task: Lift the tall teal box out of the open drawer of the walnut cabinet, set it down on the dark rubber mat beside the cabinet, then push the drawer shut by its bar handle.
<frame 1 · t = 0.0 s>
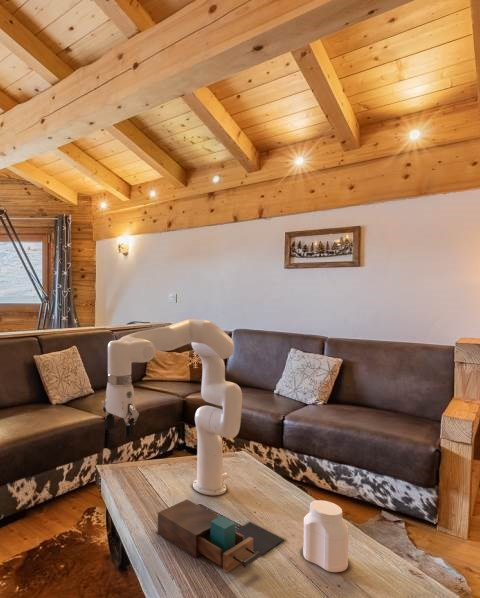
hand: (119, 432, 135), 31 cm above the table, tool pointing down, fingers open, 9 cm apart
jar: (325, 559, 121), on the table
drawer: (225, 546, 122), point 3 cm above the table, slide at 9.0 cm, touching box
mat: (255, 538, 131), on the table
cabinet: (190, 536, 132), on the table
box: (222, 549, 122), point 2 cm above the table, touching drawer
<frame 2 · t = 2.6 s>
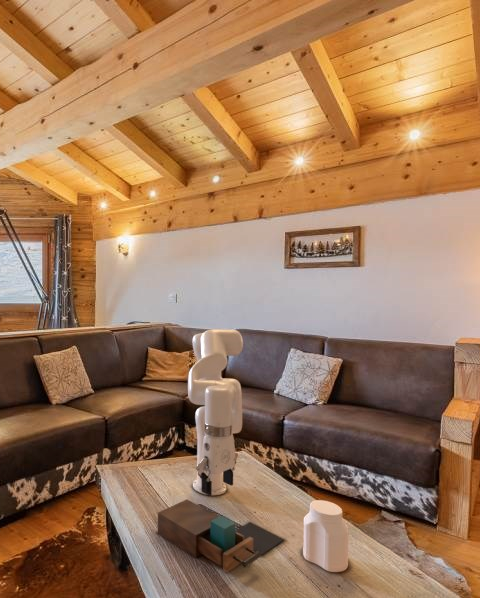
hand: (217, 488, 122), 20 cm above the table, tool pointing down, fingers open, 9 cm apart
nothing on the table moved.
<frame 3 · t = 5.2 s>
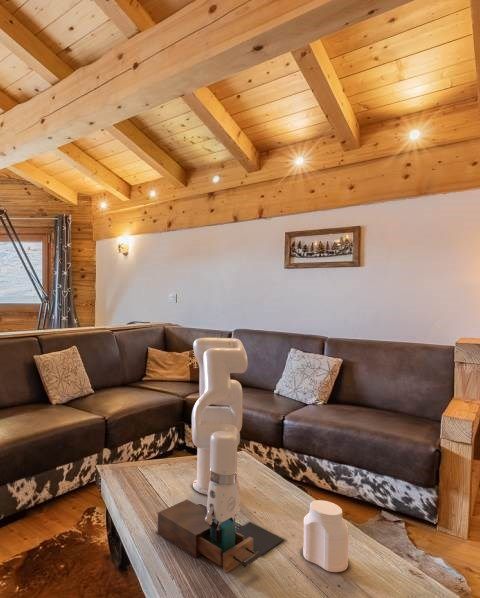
hand: (222, 537, 122), 5 cm above the table, tool pointing down, fingers closed on box, 5 cm apart
box: (222, 549, 122), point 2 cm above the table, touching drawer, gripper
everything else where it was.
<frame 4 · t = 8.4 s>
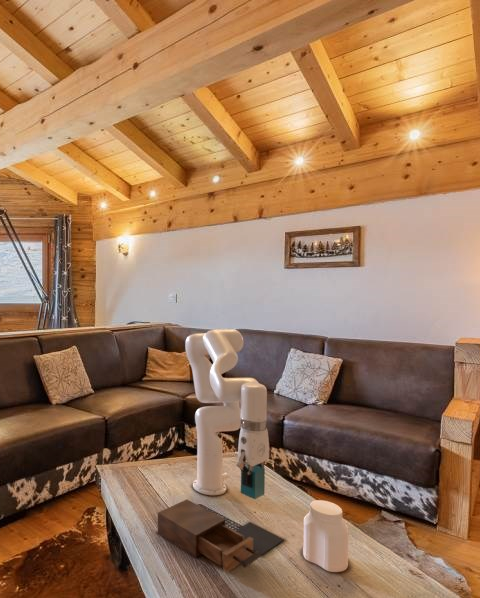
hand: (252, 482, 129), 18 cm above the table, tool pointing down, fingers closed on box, 5 cm apart
drawer: (225, 546, 122), point 3 cm above the table, slide at 9.0 cm
box: (252, 493, 130), point 15 cm above the table, touching gripper
everything else where it was.
when the fingers open (4 cm above the table, at t = 12.0 s): box stays where it is, resting on mat.
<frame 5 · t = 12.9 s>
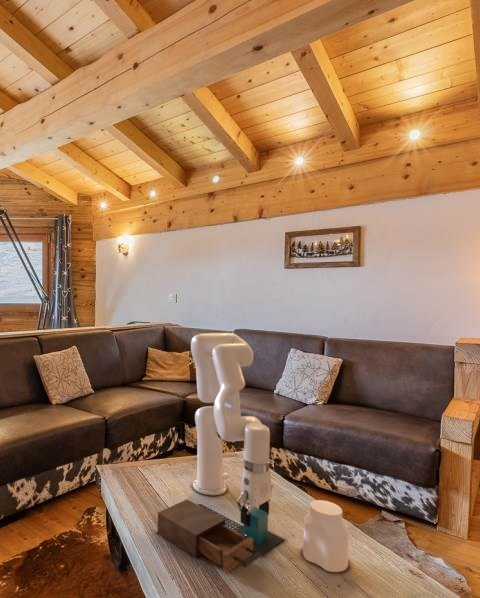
hand: (254, 518, 131), 6 cm above the table, tool pointing down, fingers open, 9 cm apart
box: (255, 537, 131), resting on mat
everything else where it was.
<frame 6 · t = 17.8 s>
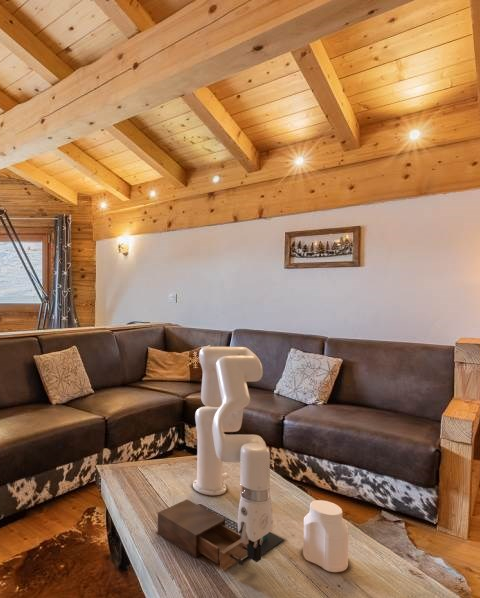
hand: (254, 558, 114), 5 cm above the table, tool pointing down, fingers closed
drawer: (222, 544, 122), point 3 cm above the table, slide at 8.0 cm, touching gripper
everything else where it was.
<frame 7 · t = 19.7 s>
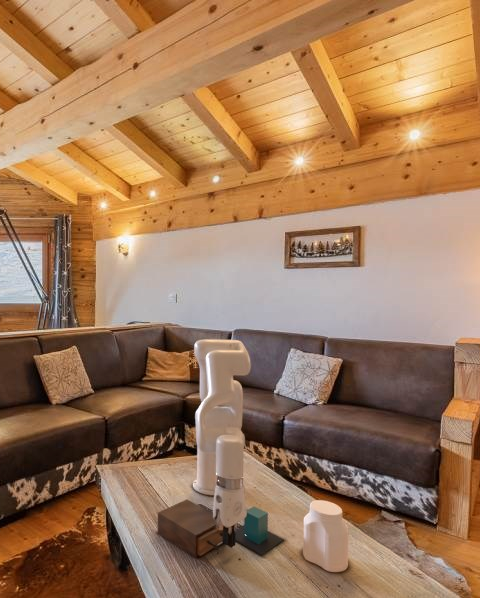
hand: (228, 544, 121), 5 cm above the table, tool pointing down, fingers closed
drawer: (200, 531, 129), point 3 cm above the table, slide at 0.0 cm, touching cabinet, gripper
everything else where it was.
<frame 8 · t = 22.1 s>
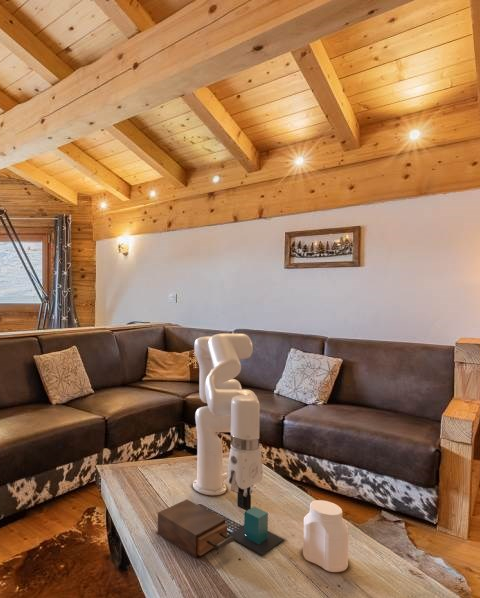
hand: (244, 507, 116), 17 cm above the table, tool pointing down, fingers closed
drawer: (200, 531, 129), point 3 cm above the table, slide at 0.0 cm, touching cabinet
everything else where it was.
at the end: box inside the target area on the mat (0.2 cm from its centre), point 0.4 cm above the mat's base; box tilted 0°; drawer slide at 0.0 cm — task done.
